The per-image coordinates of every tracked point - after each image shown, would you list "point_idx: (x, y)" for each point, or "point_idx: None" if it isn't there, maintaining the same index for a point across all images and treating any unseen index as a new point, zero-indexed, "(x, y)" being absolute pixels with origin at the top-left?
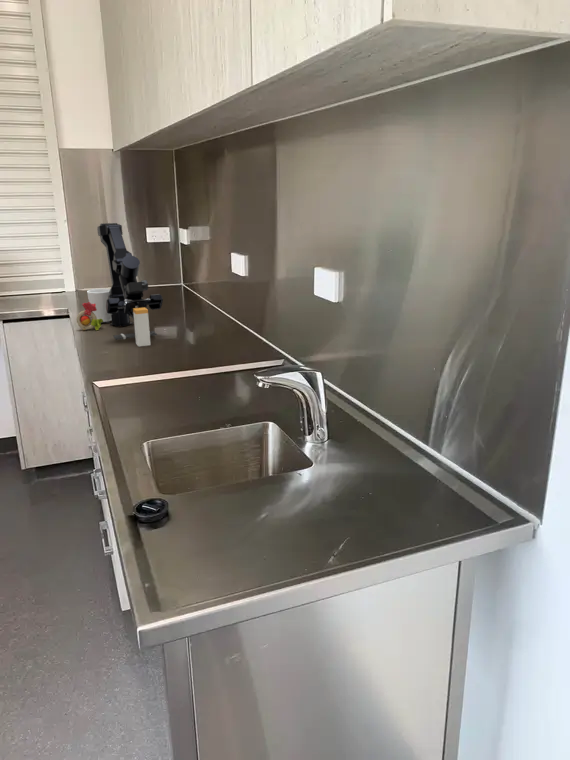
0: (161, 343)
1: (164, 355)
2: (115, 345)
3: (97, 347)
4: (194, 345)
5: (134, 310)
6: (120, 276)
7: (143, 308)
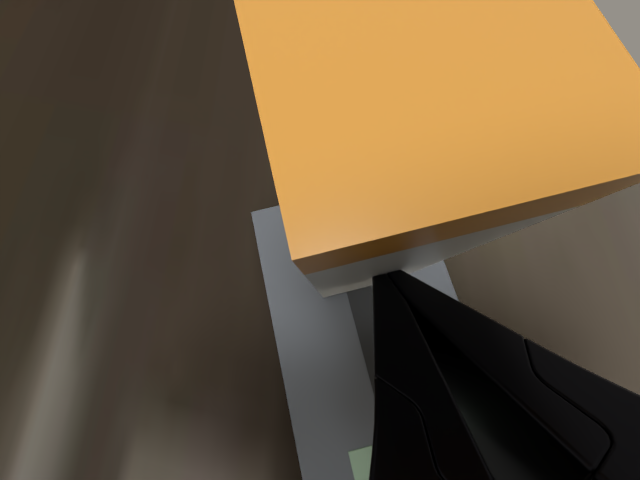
0: (243, 309)
1: (249, 86)
2: (522, 324)
3: (626, 299)
4: (78, 224)
5: (570, 29)
6: None
7: (339, 97)
